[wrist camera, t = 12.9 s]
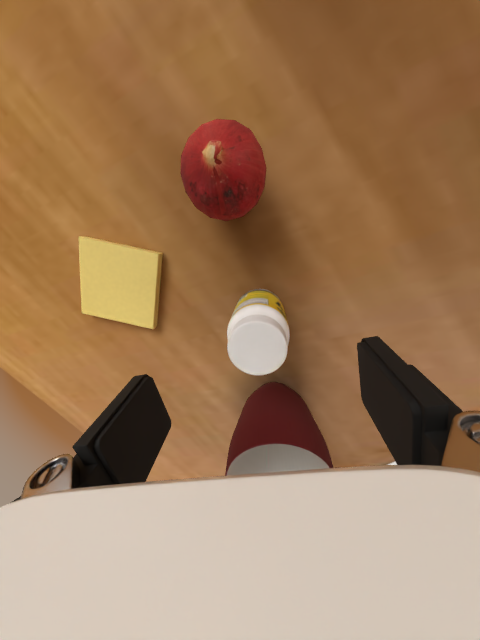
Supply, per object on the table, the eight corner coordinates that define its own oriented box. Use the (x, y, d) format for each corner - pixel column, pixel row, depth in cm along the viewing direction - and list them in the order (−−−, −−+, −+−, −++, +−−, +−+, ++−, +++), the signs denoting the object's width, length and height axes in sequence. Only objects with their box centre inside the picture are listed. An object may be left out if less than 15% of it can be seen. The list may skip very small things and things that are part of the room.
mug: (337, 420, 27) (375, 520, 17) (277, 448, 29) (283, 550, 20) (284, 351, 25) (296, 424, 15) (224, 388, 27) (202, 470, 17)
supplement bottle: (286, 331, 24) (296, 378, 16) (240, 336, 24) (228, 384, 17) (281, 284, 22) (289, 311, 14) (232, 291, 23) (214, 320, 15)
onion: (272, 211, 20) (277, 197, 13) (209, 230, 21) (179, 228, 14) (256, 132, 18) (250, 63, 11) (188, 157, 19) (140, 109, 12)
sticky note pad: (88, 310, 25) (81, 313, 24) (85, 236, 23) (78, 236, 22) (157, 325, 25) (153, 329, 24) (163, 252, 22) (158, 253, 21)
